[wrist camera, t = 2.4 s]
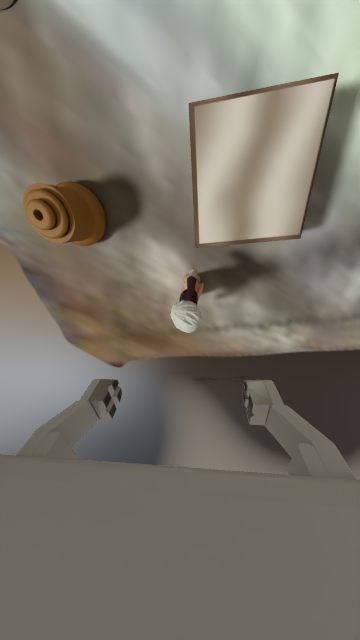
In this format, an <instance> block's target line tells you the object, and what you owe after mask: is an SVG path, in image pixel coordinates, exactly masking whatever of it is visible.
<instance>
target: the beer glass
mask: <svg viewBox="0 0 360 640" xmlns="http://www.w3.org/2000/svg"><path fill="white" fill-rule="evenodd" d="M13 2H14V0H0V10H3V9H6V8H8V7H9V6H11V4H12V3H13Z"/></svg>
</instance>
